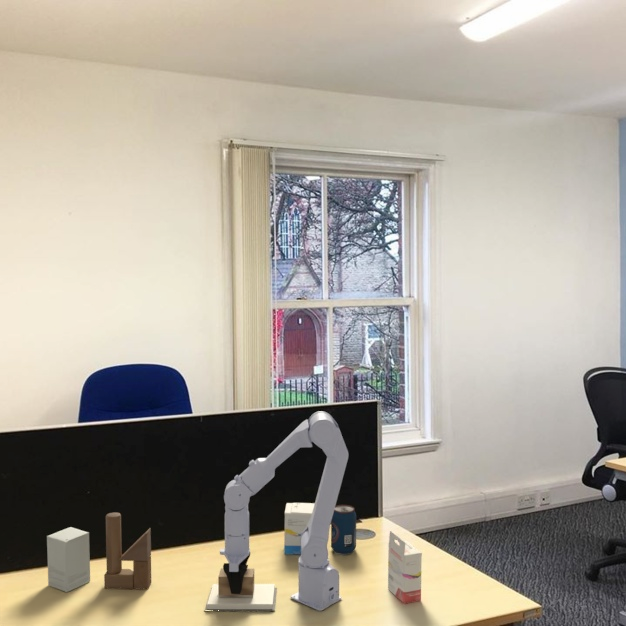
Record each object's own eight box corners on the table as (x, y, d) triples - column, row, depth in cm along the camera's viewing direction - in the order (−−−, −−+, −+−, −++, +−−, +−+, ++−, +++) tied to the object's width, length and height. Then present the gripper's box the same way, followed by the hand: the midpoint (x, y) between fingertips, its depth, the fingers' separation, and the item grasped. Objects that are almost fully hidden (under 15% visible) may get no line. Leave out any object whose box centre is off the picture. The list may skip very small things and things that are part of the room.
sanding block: (254, 588, 166) (254, 568, 165) (252, 597, 161) (252, 576, 161) (220, 588, 166) (220, 568, 165) (218, 597, 161) (218, 576, 161)
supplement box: (91, 581, 173) (90, 532, 172) (66, 593, 166) (64, 542, 166) (72, 574, 177) (71, 525, 176) (47, 585, 170) (45, 535, 170)
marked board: (276, 588, 169) (276, 582, 169) (274, 611, 158) (274, 605, 158) (211, 588, 169) (211, 582, 169) (204, 611, 158) (204, 605, 158)
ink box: (314, 555, 189) (315, 513, 188) (283, 554, 189) (283, 512, 188) (315, 542, 197) (315, 502, 197) (285, 541, 198) (285, 501, 197)
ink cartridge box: (422, 601, 163) (423, 540, 162) (403, 604, 162) (404, 543, 160) (404, 585, 171) (405, 527, 170) (386, 588, 170) (387, 530, 168)
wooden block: (147, 590, 168) (146, 517, 167) (104, 589, 169) (102, 517, 167) (151, 583, 172) (150, 512, 171) (109, 582, 172) (107, 511, 171)
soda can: (327, 547, 194) (327, 505, 193) (350, 544, 196) (351, 502, 195) (335, 557, 187) (336, 513, 187) (359, 554, 190) (360, 511, 189)
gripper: (223, 520, 169) (223, 574, 170) (215, 544, 155) (216, 603, 156) (252, 520, 170) (252, 574, 171) (247, 544, 155) (247, 603, 156)
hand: (237, 588), depth 163 cm, fingers closed on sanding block, 4 cm apart
